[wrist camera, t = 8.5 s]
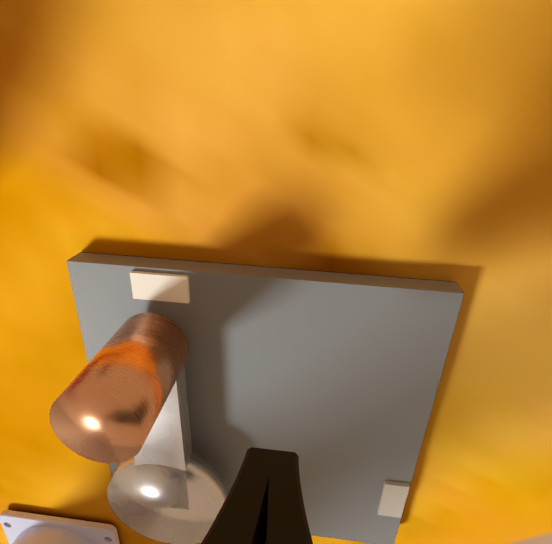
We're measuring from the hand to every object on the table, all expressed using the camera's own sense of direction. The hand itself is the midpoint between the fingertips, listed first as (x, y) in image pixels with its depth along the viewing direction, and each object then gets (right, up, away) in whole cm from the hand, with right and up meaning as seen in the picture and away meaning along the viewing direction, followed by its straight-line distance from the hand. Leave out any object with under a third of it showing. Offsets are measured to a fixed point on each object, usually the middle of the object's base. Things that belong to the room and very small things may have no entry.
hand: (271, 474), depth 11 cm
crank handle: (-5, -2, +7) cm, 9 cm away
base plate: (-1, -1, +9) cm, 9 cm away
